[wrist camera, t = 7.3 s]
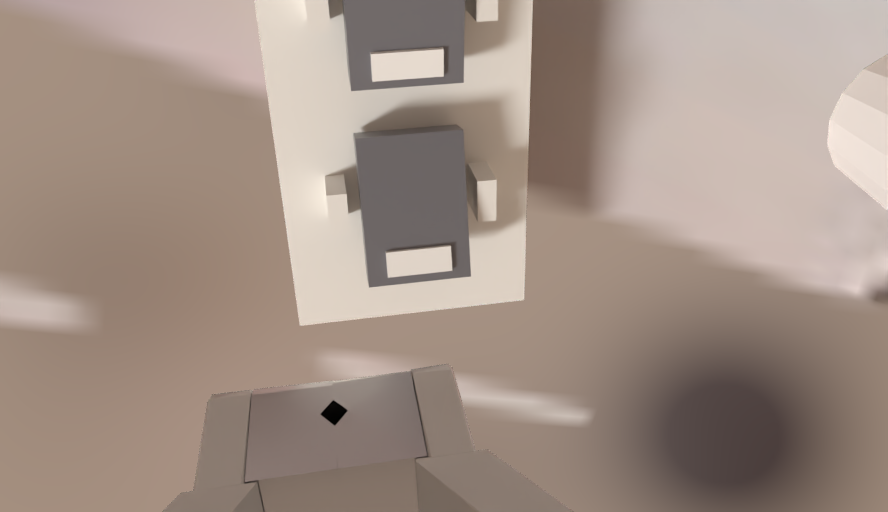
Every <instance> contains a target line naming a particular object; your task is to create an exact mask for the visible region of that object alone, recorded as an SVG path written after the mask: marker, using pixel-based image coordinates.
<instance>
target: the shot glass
mask: <svg viewBox="0 0 888 512" xmlns="http://www.w3.org/2000/svg"><path fill="white" fill-rule="evenodd" d="M827 146H828V149H829V152H830V154H831V157H832V160H833V163H834V166H835V167H837V168H838V169H839V170H840V171H841V172H842V173H844V174H845V175H846V176H847V177H848V178H850V179H851V180H852V181H853V182H854V183H856V184H857V185H858V186H859V187H860V188H861V189H863V190H864V191H865V192H866V193H867V194H869V195H870V196H871V197H872V198H873V199H874V200H876V201H877V202H878V203H879V204H880V205H882V206H883V207H884V208H885V209H886V210H888V54H887V55H885V56H884V57H882V58H880V59H879V60H877V61H876V62H874V63H872V64H871V65H869V66H867V67H866V68H864V69H863V70H862V71H861V72H860V73H859V74H858V75H857V77H856V78H855V79H854V80H853V81H852V82H851V83H850V84H849V86H848V87H847V88H846V89H845V90H844V91H843V92H842V94H841V96H840V98H839V100H838V103H837V105H836V107H835V109H834V111H833V113H832V115H831V118H830V121H829V131H828V141H827Z"/></svg>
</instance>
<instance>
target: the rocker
mask: <svg viewBox="0 0 888 512" xmlns="http://www.w3.org/2000/svg"><path fill="white" fill-rule="evenodd" d="M353 137H354V148H355V158H356V169H357V179H358V190H359V200H360V211H361V222H362V232H363V243H364V253H365V264H366V274H367V280H368V285H369V288H370V287H379V286H388V285H397V284H407V283H416V282H425V281H434V280H443V279H452V278H461V277H471V267H470V247H469V228H468V209H467V190H466V171H465V152H464V132H463V129H462V128H460V127H459V126H458V125H456V124H455V125H443V126H431V127H419V128H407V129H395V130H383V131H370V132H358V133H353Z"/></svg>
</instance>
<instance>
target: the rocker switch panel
mask: <svg viewBox="0 0 888 512" xmlns="http://www.w3.org/2000/svg"><path fill="white" fill-rule="evenodd" d="M254 2H255V9H256V16H257V24H258V31H259V38H260V45H261V52H262V59H263V66H264V73H265V81H266V88H267V95H268V102H269V109H270V116H271V123H272V131H273V138H274V145H275V152H276V159H277V166H278V173H279V180H280V187H281V194H282V202H283V209H284V216H285V223H286V230H287V238H288V244H289V252H290V259H291V266H292V272H293V280H294V287H295V295H296V302H297V309H298V316H299V323H300V326H302V325H310V324H318V323H327V322H336V321H345V320H354V319H362V318H371V317H379V316H389V315H398V314H406V313H415V312H424V311H433V310H441V309H450V308H459V307H468V306H476V305H485V304H493V303H502V302H510V301H520V300H524V285H525V251H526V218H527V215H526V214H527V184H528V149H529V115H530V81H531V47H532V13H533V0H465V29H464V83H453V84H440V85H427V86H414V87H400V88H387V89H374V90H361V91H351V87H350V81H349V76H348V66H347V54H346V41H345V29H344V17H343V5H342V0H254ZM455 124H456V125H458V126H459V127H460V128H462V129H463V132H464V152H465V171H466V190H467V209H468V228H469V247H470V267H471V277H461V278H452V279H443V280H434V281H425V282H416V283H407V284H397V285H388V286H379V287H370V288H369V285H368V280H367V274H366V264H365V253H364V243H363V232H362V222H361V211H360V200H359V190H358V179H357V169H356V158H355V148H354V137H353V133H358V132H370V131H383V130H395V129H407V128H419V127H431V126H443V125H455Z"/></svg>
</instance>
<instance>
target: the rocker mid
mask: <svg viewBox="0 0 888 512" xmlns="http://www.w3.org/2000/svg"><path fill="white" fill-rule="evenodd" d="M342 5H343V17H344V29H345V41H346V54H347V66H348V76H349V81H350V87H351V91H361V90H374V89H387V88H400V87H414V86H427V85H440V84H453V83H464V29H465V0H342Z"/></svg>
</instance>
